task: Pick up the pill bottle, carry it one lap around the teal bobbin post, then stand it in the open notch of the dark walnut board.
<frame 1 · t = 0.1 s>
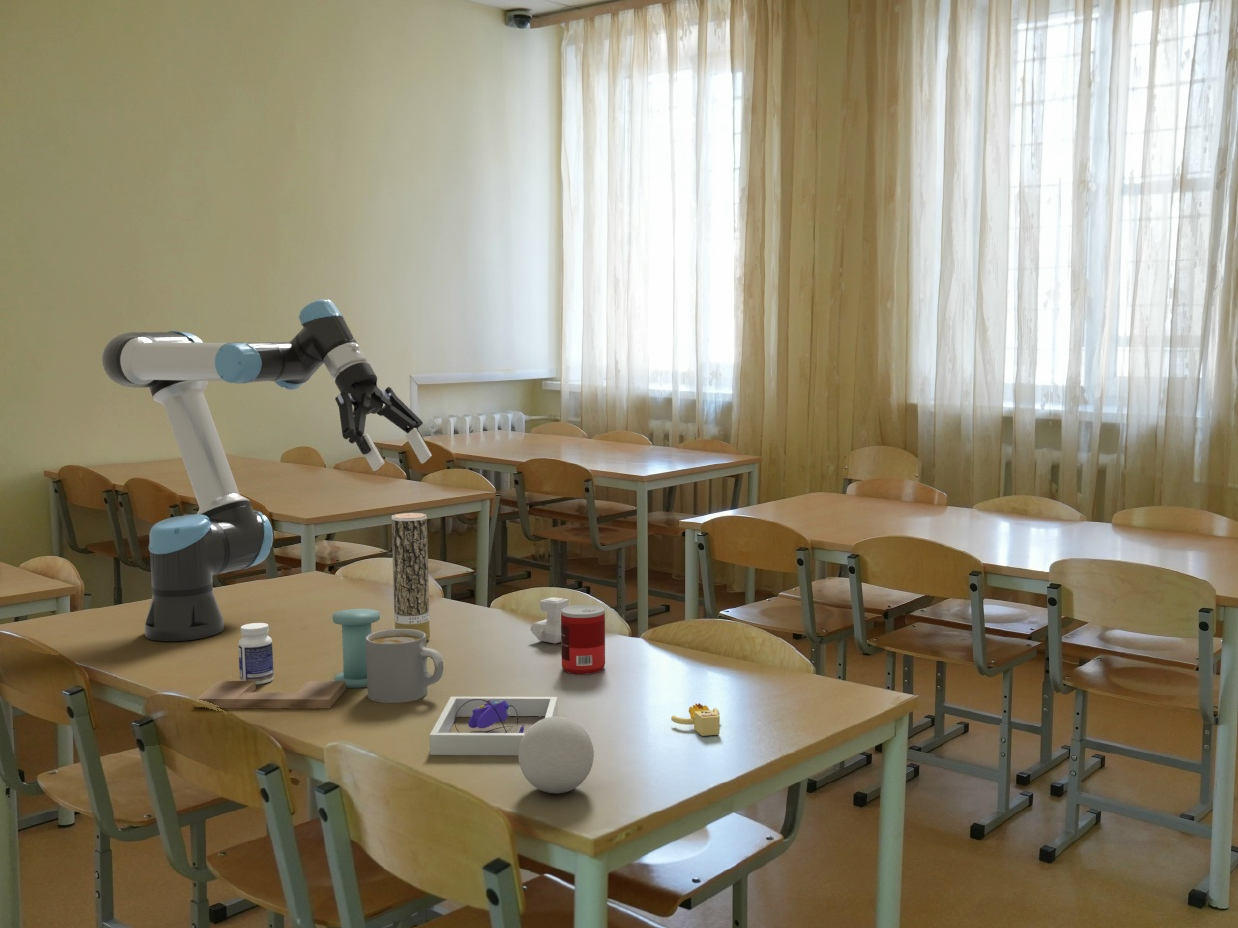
hand: (403, 463, 227), 36 cm above the table, tool tilted 35°, fingers open, 13 cm apart
bobbin post: (358, 680, 210), on the table
ball: (556, 792, 160), on the table
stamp: (554, 642, 235), on the table
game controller: (498, 736, 182), on the table
character toy: (706, 730, 185), on the table
pill bottle: (257, 681, 210), on the table
paper tube: (412, 641, 236), on the table
controller tray: (496, 733, 182), on the table
notch board: (272, 698, 200), on the table
coffee mug: (405, 696, 201), on the table
canned food: (583, 669, 216), on the table
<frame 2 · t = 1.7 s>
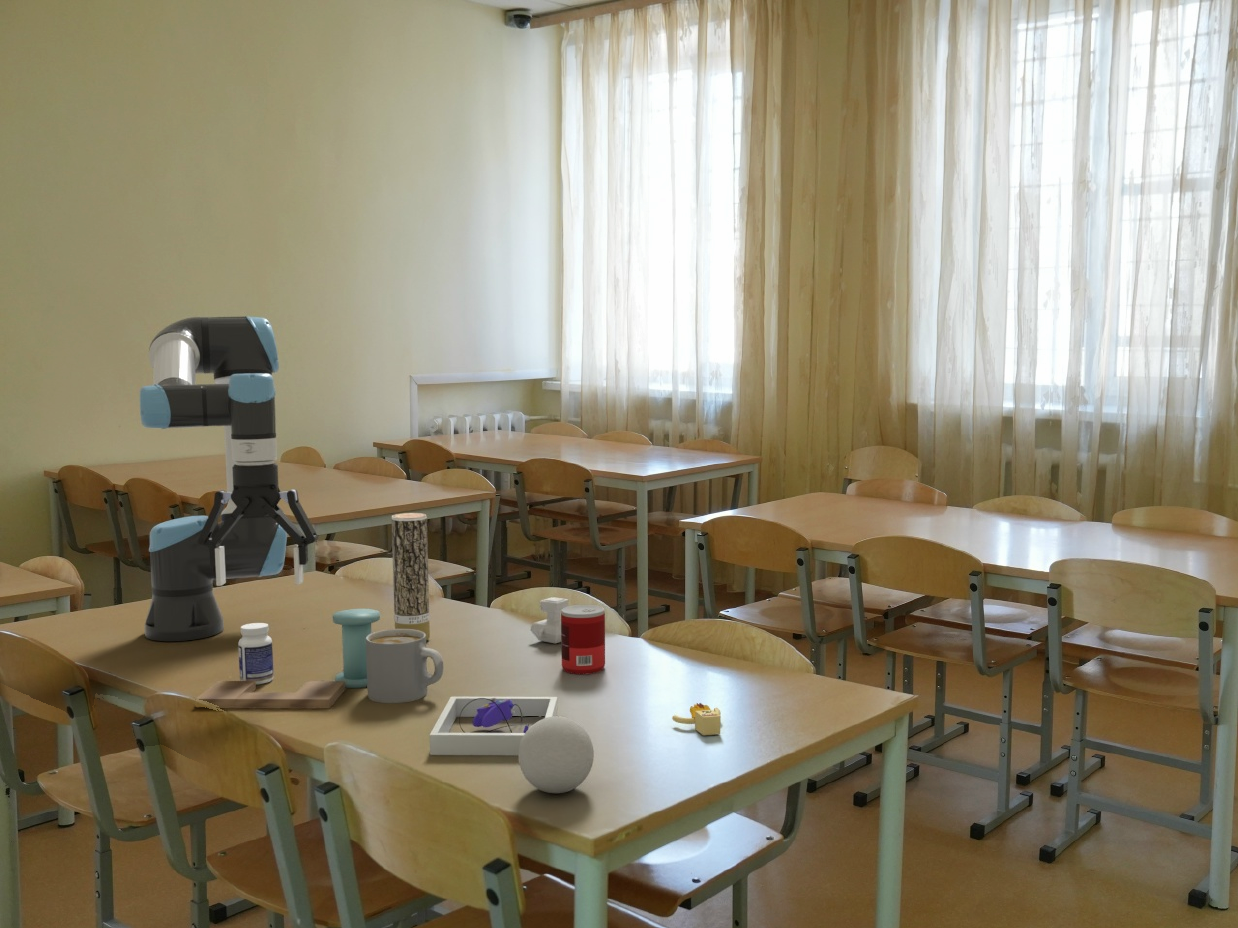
hand: (260, 583, 209), 17 cm above the table, tool pointing down, fingers open, 13 cm apart
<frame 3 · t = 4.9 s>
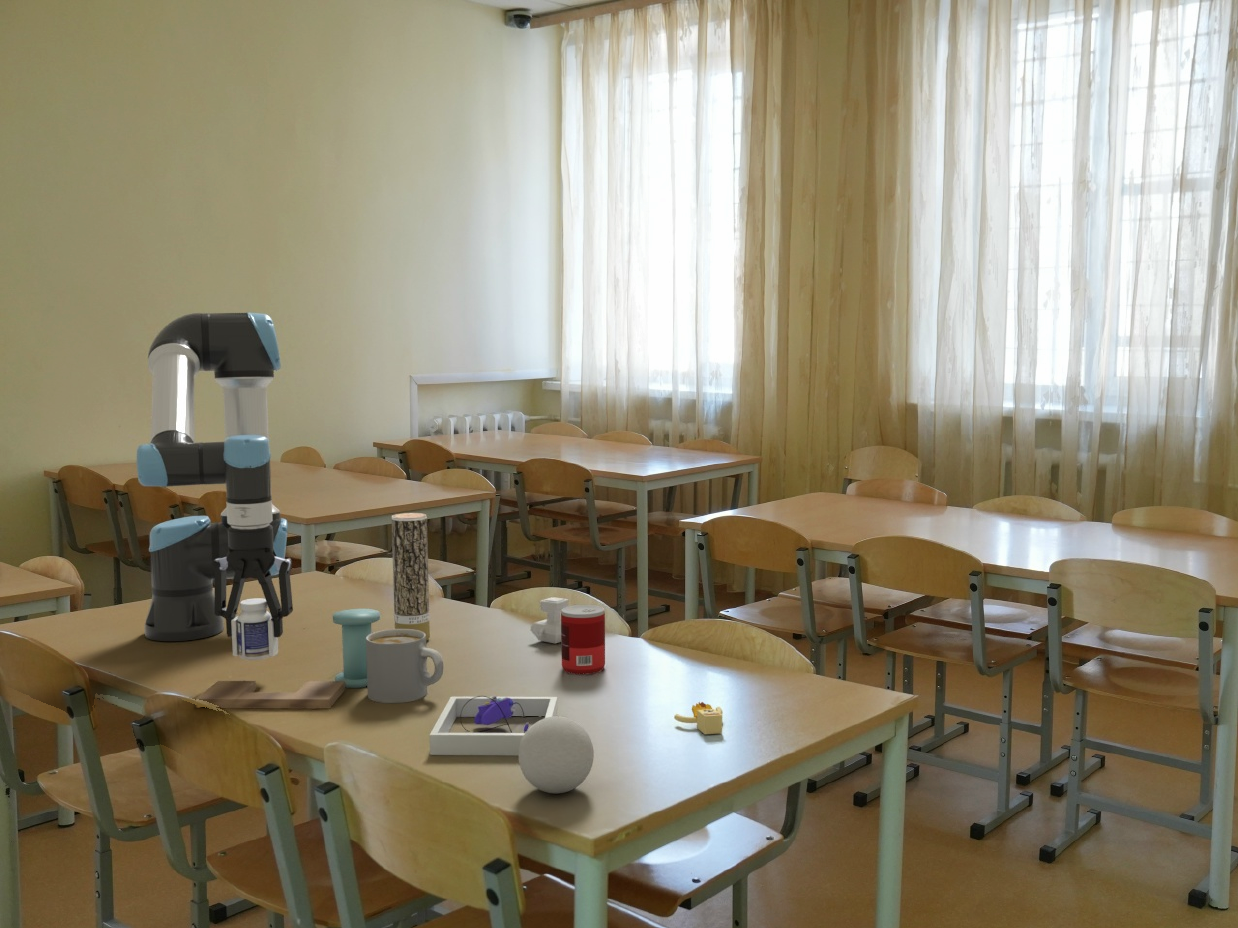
hand: (255, 654, 210), 5 cm above the table, tool pointing down, fingers closed on pill bottle, 6 cm apart
pill bottle: (255, 657, 211), point 4 cm above the table, touching gripper
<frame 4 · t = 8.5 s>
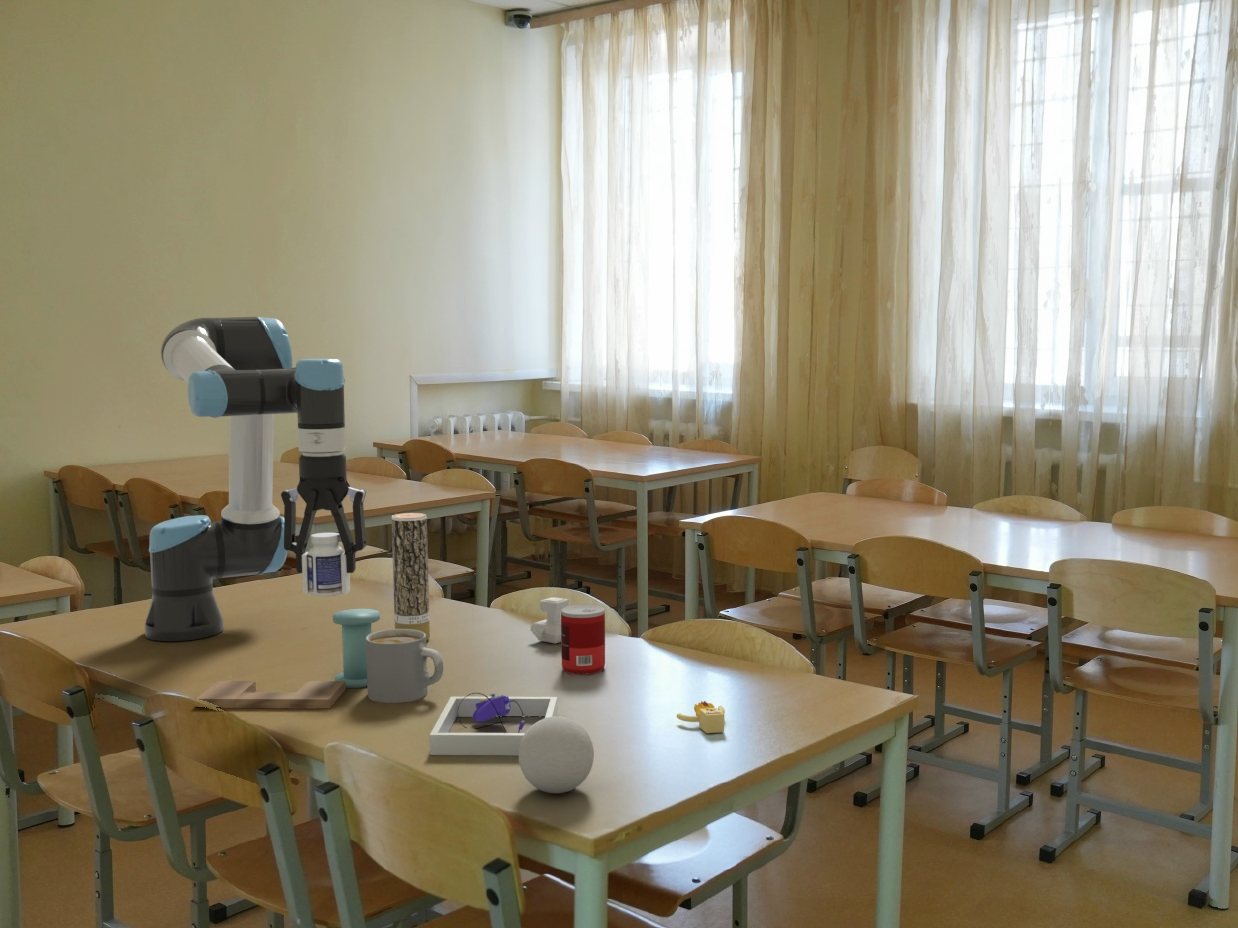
hand: (326, 591, 199), 18 cm above the table, tool pointing down, fingers closed on pill bottle, 6 cm apart
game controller: (500, 730, 185), on the table
pill bottle: (327, 594, 199), point 18 cm above the table, touching gripper
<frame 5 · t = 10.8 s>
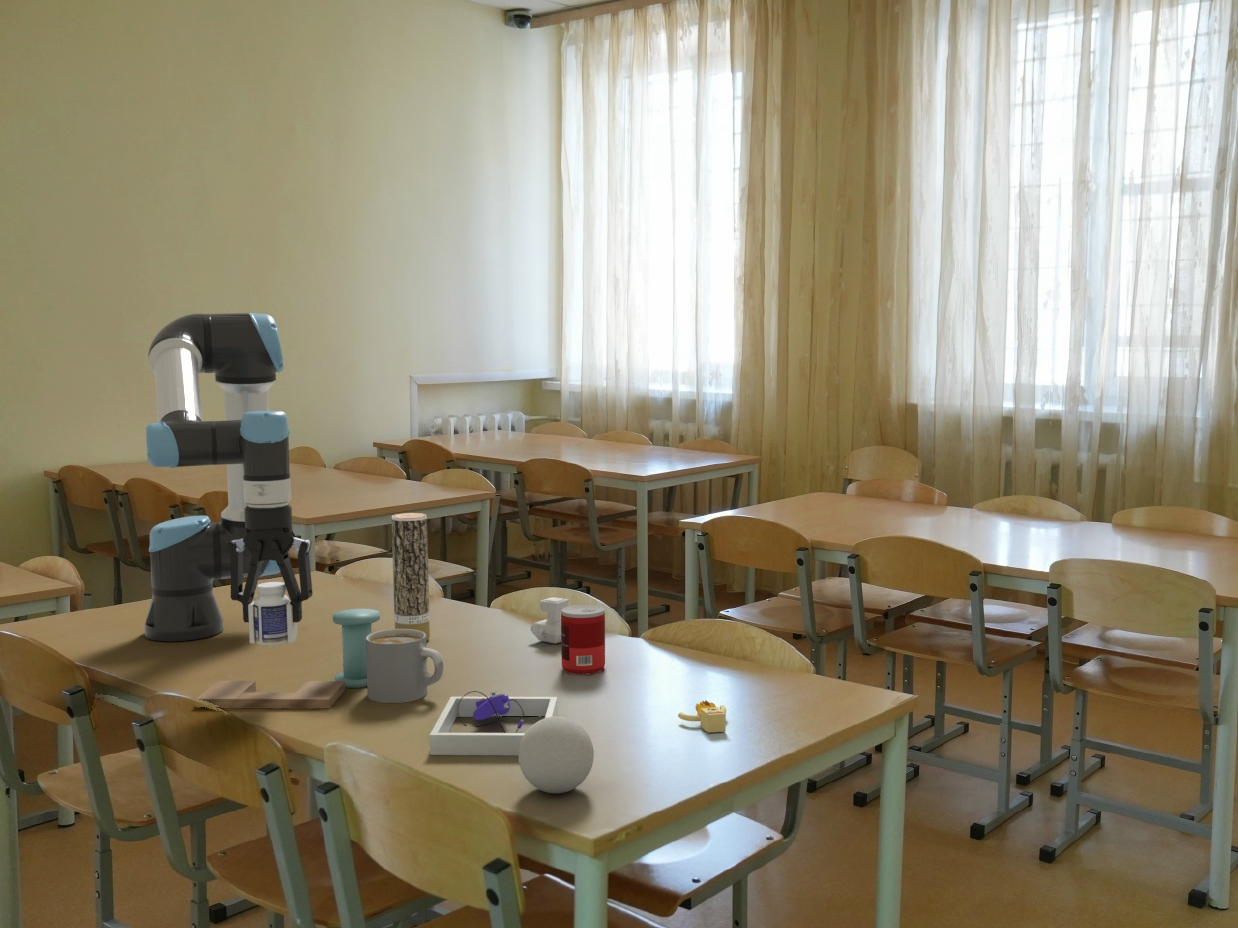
hand: (273, 640, 201), 9 cm above the table, tool pointing down, fingers closed on pill bottle, 6 cm apart
pill bottle: (273, 643, 201), point 9 cm above the table, touching gripper
when the fingers open (2 cm above the table, at t = 12.5 s): pill bottle drops 2 cm, on the table.
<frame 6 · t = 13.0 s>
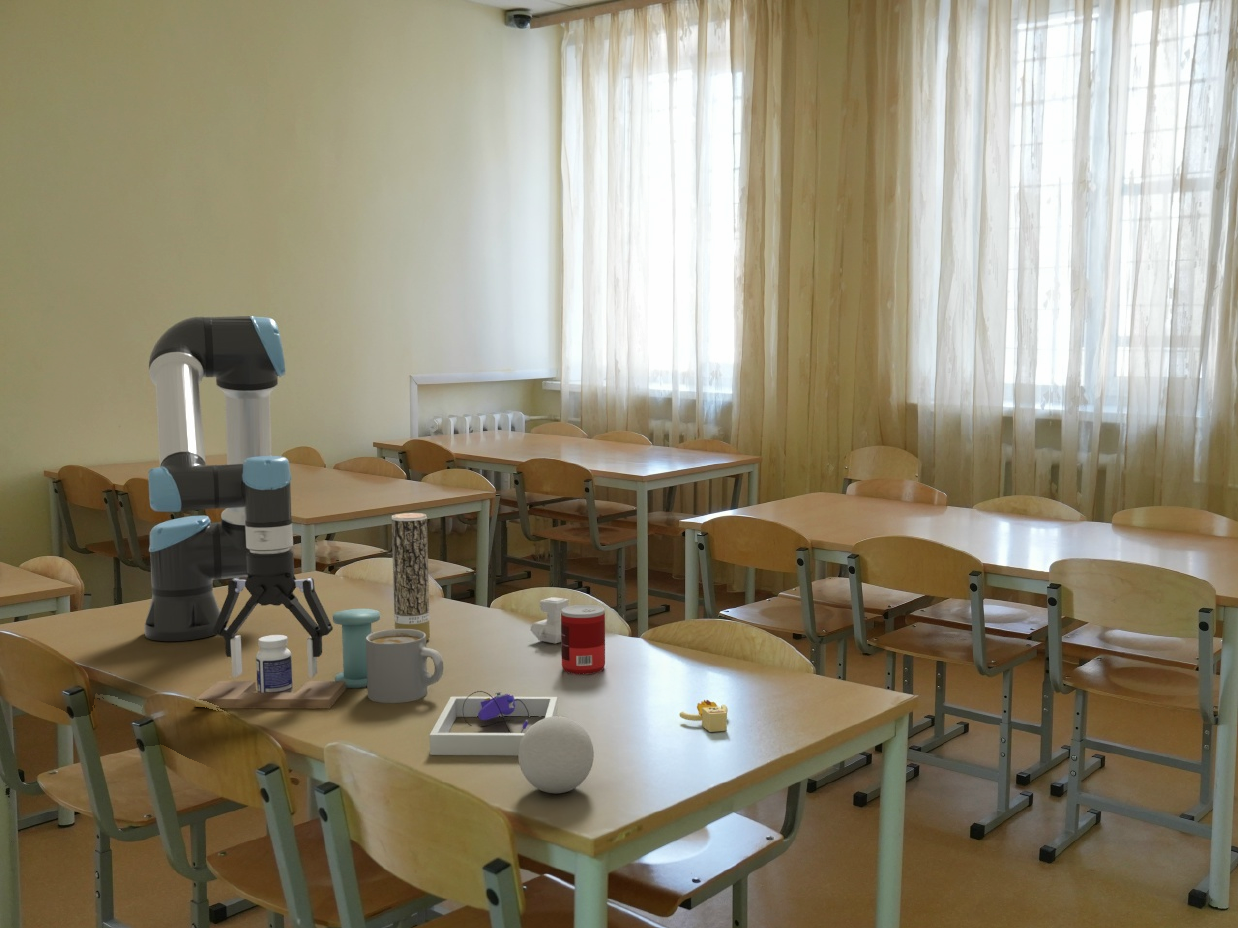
hand: (275, 675, 202), 3 cm above the table, tool pointing down, fingers open, 12 cm apart
pill bottle: (275, 696, 202), on the table
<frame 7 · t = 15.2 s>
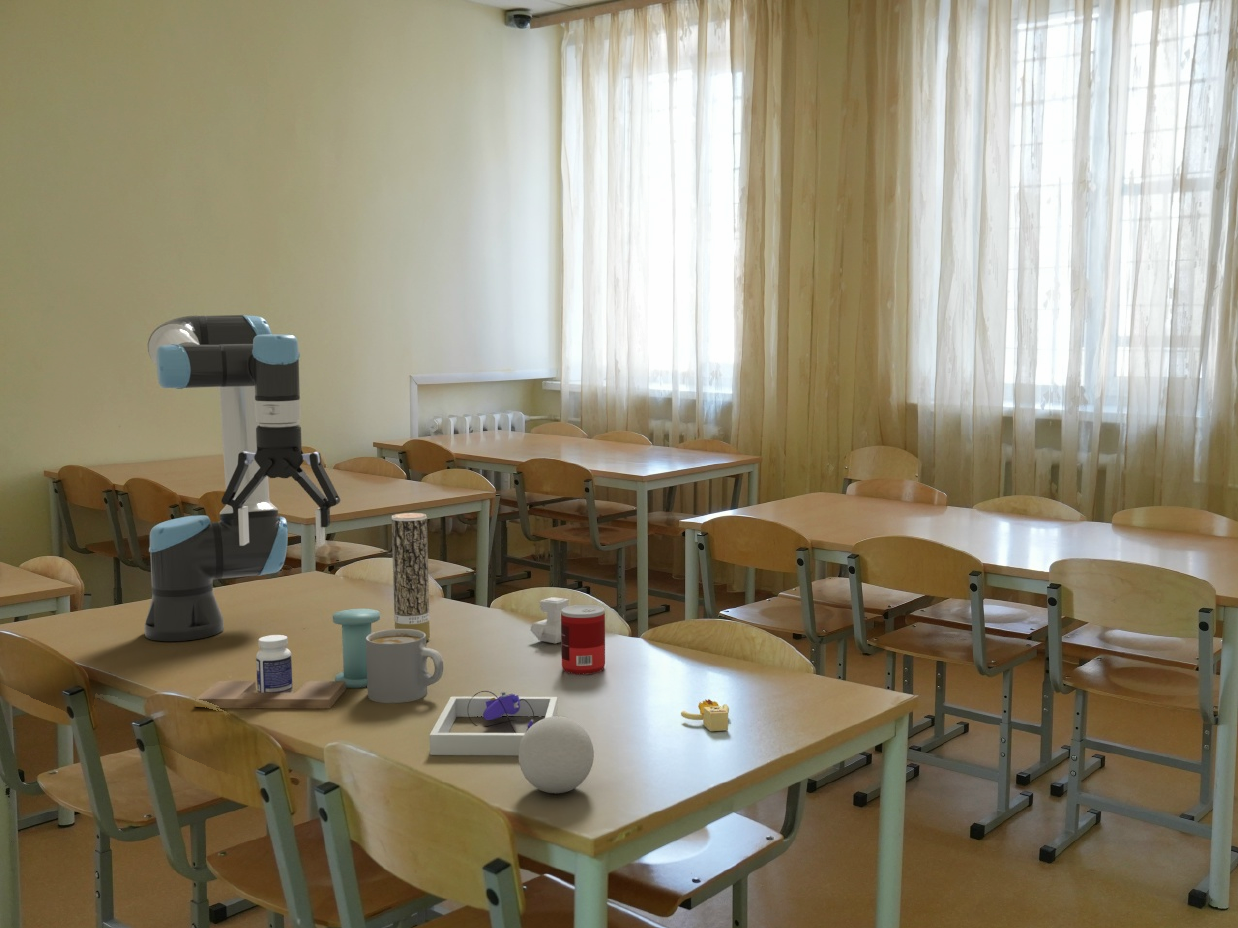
hand: (282, 544, 210), 24 cm above the table, tool pointing down, fingers open, 13 cm apart
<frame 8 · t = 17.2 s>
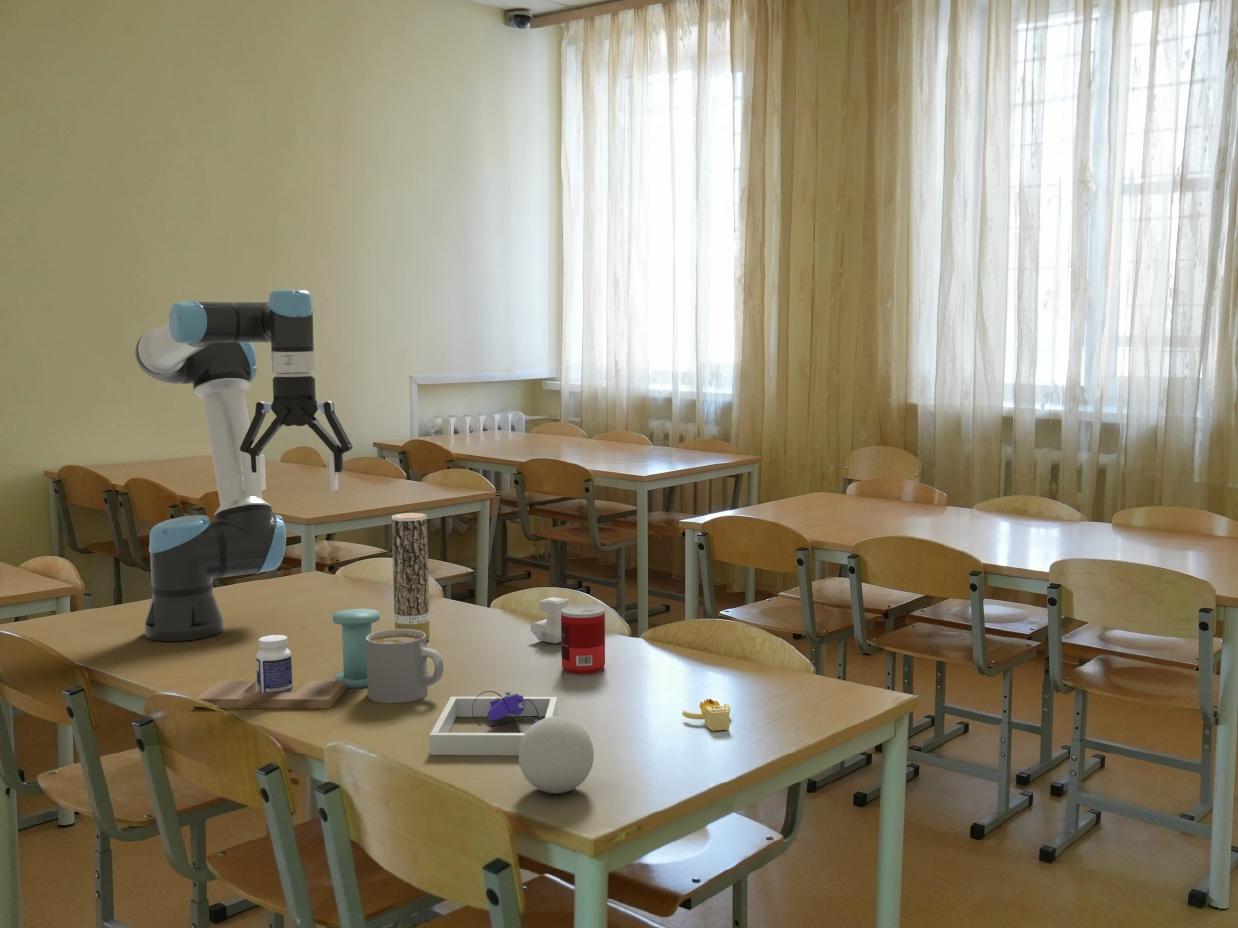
hand: (298, 490, 221), 32 cm above the table, tool pointing down, fingers open, 13 cm apart
at the end: pill bottle 0.5 cm from the target spot on the notch board, point 0.0 cm above the notch board's base; pill bottle tilted 0°; the gripper is holding nothing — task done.
